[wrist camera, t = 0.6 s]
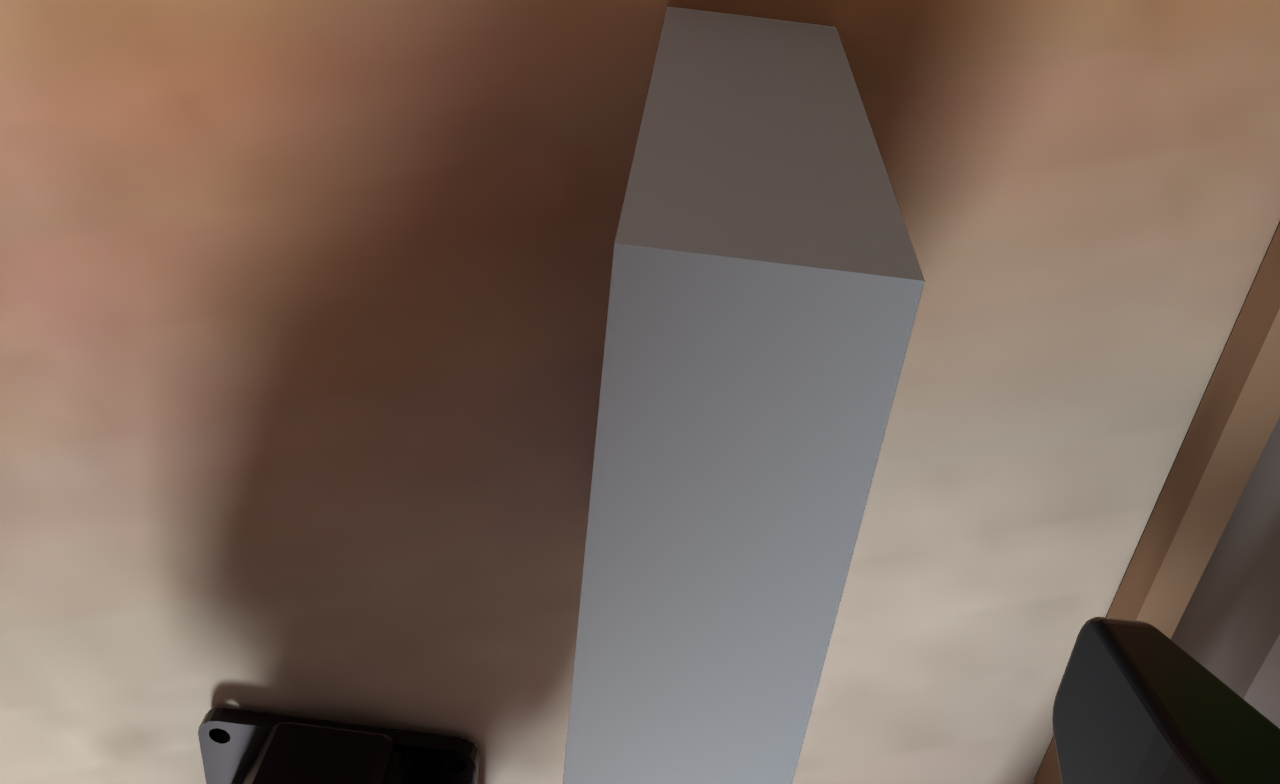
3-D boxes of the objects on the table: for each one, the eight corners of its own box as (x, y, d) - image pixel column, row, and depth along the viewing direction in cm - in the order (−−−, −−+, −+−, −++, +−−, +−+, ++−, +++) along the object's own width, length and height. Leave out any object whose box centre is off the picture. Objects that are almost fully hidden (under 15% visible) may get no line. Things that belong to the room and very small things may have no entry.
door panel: (739, 533, 22) (744, 965, 14) (611, 517, 22) (547, 940, 14) (835, 25, 17) (925, 281, 9) (667, 5, 17) (614, 243, 9)
